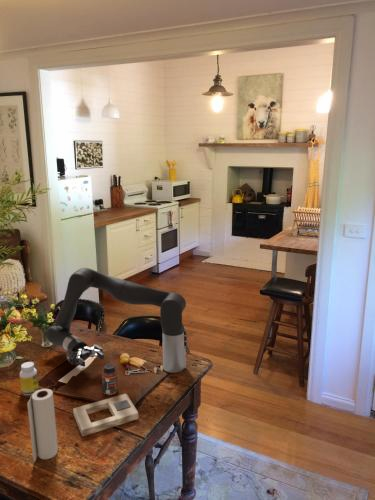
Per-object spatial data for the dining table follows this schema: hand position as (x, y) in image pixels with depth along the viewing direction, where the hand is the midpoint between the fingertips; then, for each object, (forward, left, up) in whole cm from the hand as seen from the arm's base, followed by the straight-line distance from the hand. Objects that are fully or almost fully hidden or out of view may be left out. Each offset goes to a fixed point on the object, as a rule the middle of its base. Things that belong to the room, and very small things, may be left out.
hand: (93, 360), depth 168 cm
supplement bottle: (-3, +11, -9) cm, 15 cm away
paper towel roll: (+25, +34, -9) cm, 43 cm away
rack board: (+3, +25, -9) cm, 27 cm away
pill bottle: (+25, -4, -9) cm, 27 cm away
